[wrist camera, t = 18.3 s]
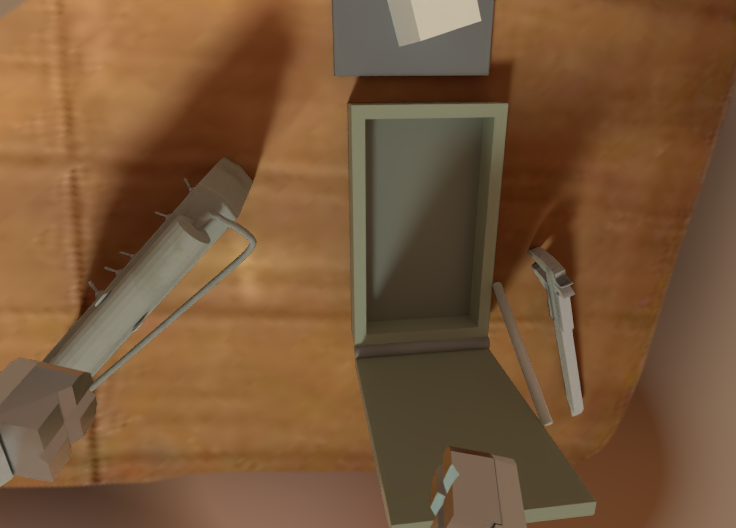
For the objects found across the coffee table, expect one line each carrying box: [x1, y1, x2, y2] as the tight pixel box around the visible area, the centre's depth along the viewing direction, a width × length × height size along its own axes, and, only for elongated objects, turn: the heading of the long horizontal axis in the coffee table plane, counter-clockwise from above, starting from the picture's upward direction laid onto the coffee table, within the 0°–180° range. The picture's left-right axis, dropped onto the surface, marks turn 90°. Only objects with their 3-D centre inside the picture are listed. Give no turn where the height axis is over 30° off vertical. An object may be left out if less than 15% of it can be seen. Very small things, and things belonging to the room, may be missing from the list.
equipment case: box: [347, 101, 596, 528], centre depth 35 cm, size 13×22×21 cm, turn 0°
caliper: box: [528, 247, 584, 416], centre depth 48 cm, size 20×1×6 cm, turn 21°
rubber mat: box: [332, 0, 494, 76], centre depth 38 cm, size 12×10×1 cm
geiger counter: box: [42, 157, 256, 392], centre depth 36 cm, size 14×6×25 cm
